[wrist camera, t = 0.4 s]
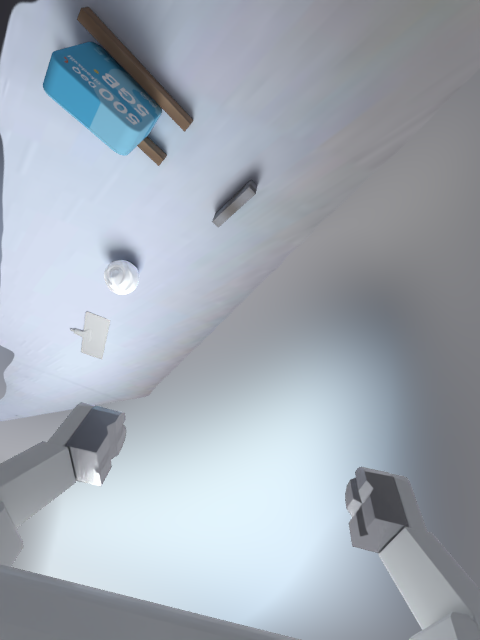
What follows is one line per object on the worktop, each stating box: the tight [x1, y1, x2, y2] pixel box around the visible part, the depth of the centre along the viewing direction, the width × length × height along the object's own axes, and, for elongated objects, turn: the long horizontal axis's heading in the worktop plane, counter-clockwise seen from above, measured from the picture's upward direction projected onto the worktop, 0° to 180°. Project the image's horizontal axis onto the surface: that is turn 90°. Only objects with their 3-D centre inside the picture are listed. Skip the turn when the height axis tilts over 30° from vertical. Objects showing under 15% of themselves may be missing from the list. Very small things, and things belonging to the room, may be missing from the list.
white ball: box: [104, 260, 139, 295], centre depth 72 cm, size 8×8×8 cm
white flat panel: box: [70, 312, 110, 359], centre depth 100 cm, size 25×24×1 cm
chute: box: [77, 7, 257, 227], centre depth 50 cm, size 10×33×3 cm, turn 46°
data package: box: [43, 42, 162, 155], centre depth 43 cm, size 12×4×12 cm, turn 47°
